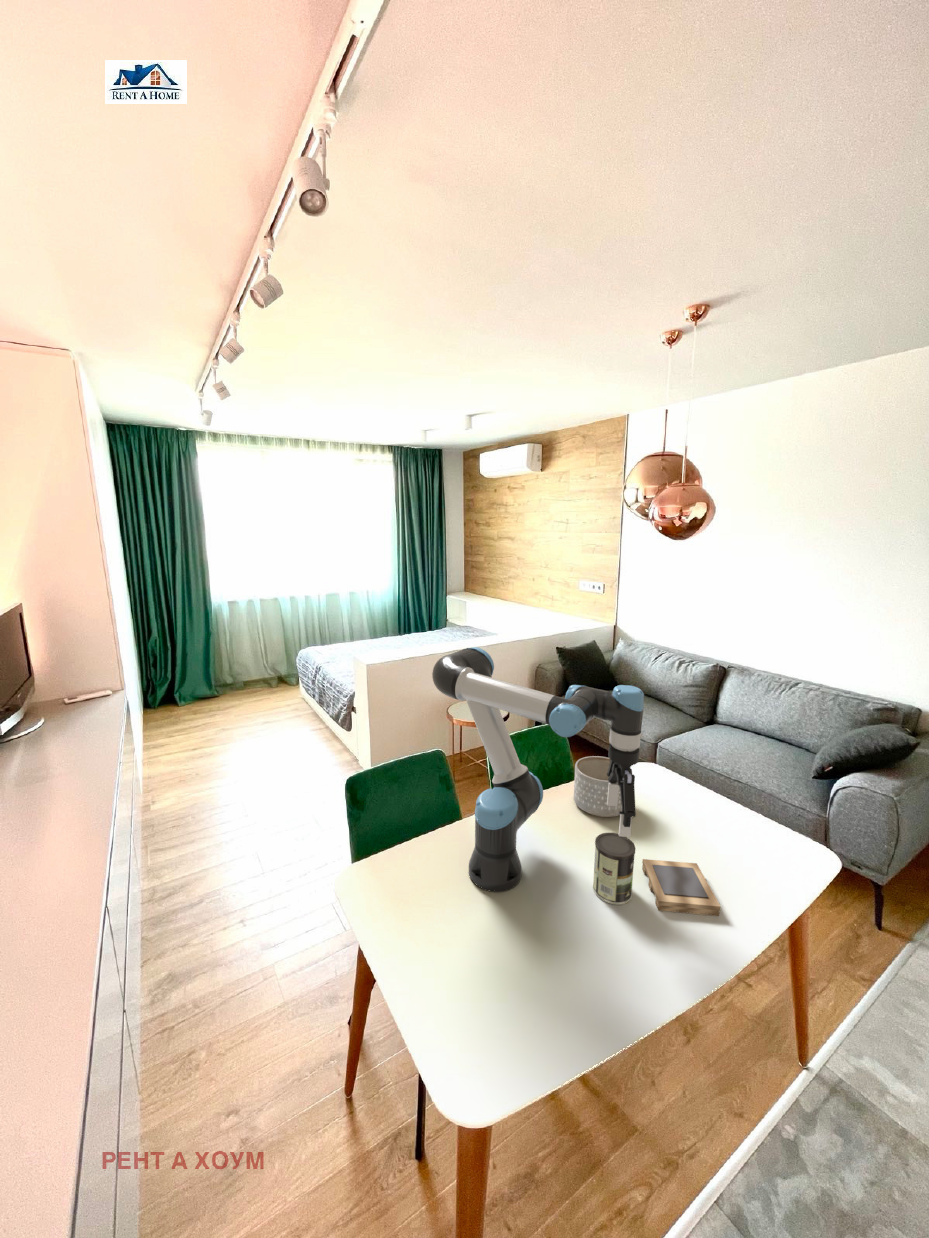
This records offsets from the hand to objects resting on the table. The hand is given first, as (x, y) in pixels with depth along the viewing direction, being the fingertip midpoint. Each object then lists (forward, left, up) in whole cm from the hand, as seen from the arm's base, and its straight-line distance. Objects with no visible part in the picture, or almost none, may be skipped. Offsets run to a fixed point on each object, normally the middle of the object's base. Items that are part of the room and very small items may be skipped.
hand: (617, 819), depth 124 cm
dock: (+17, +1, -21) cm, 27 cm away
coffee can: (-1, -1, -21) cm, 21 cm away
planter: (+3, +41, -21) cm, 46 cm away
